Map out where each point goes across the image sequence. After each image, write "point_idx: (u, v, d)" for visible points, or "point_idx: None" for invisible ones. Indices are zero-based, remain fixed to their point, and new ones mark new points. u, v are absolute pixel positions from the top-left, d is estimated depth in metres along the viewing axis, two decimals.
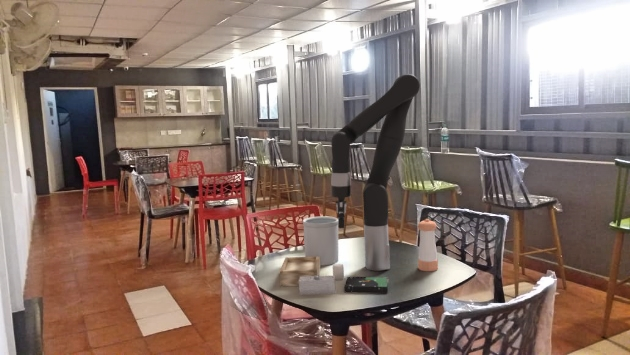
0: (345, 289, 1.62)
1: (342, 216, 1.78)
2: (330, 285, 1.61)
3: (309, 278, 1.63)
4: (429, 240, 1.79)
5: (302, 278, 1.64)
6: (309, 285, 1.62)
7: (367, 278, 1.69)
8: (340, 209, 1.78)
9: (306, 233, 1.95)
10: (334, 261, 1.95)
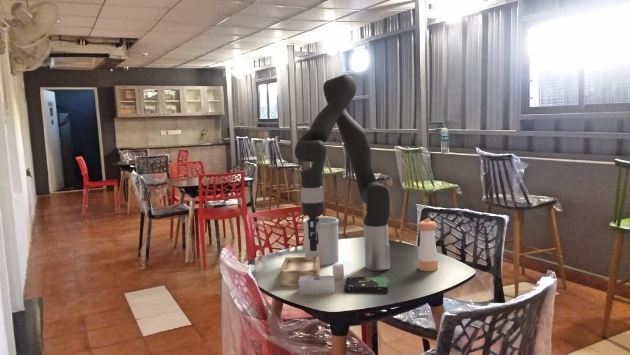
0: (345, 289, 1.62)
1: (313, 237, 1.55)
2: (330, 285, 1.61)
3: (309, 278, 1.63)
4: (429, 240, 1.79)
5: (302, 278, 1.64)
6: (309, 285, 1.62)
7: (367, 278, 1.69)
8: (311, 229, 1.55)
9: (306, 233, 1.95)
10: (334, 261, 1.95)
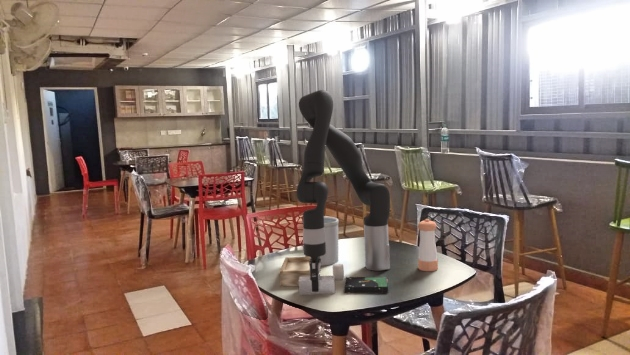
0: (345, 290, 1.62)
1: (315, 279, 1.56)
2: (330, 285, 1.61)
3: (309, 278, 1.63)
4: (429, 240, 1.79)
5: (302, 278, 1.64)
6: (309, 285, 1.62)
7: (366, 278, 1.69)
8: (313, 271, 1.56)
9: None
10: (334, 261, 1.95)
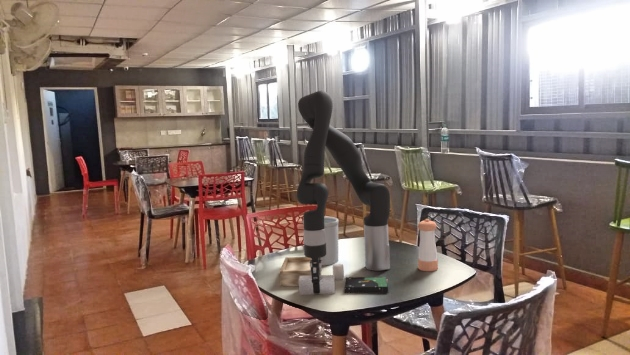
0: (345, 290, 1.61)
1: (317, 281, 1.58)
2: (330, 284, 1.61)
3: (309, 278, 1.63)
4: (429, 240, 1.79)
5: (302, 277, 1.64)
6: (309, 284, 1.62)
7: (366, 278, 1.69)
8: (314, 275, 1.57)
9: None
10: (334, 261, 1.95)
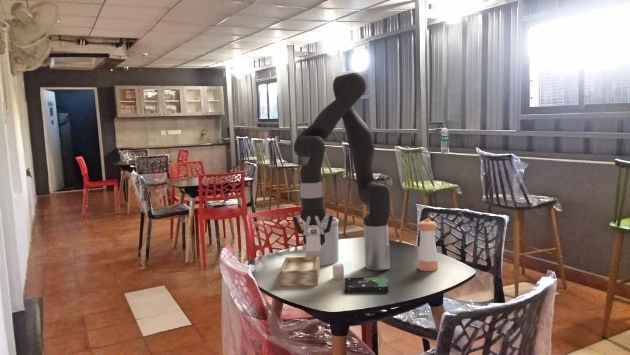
0: (346, 290, 1.61)
1: (298, 231, 1.63)
2: None
3: None
4: (429, 240, 1.79)
5: (315, 228, 1.68)
6: None
7: (365, 279, 1.69)
8: None
9: None
10: (334, 261, 1.95)
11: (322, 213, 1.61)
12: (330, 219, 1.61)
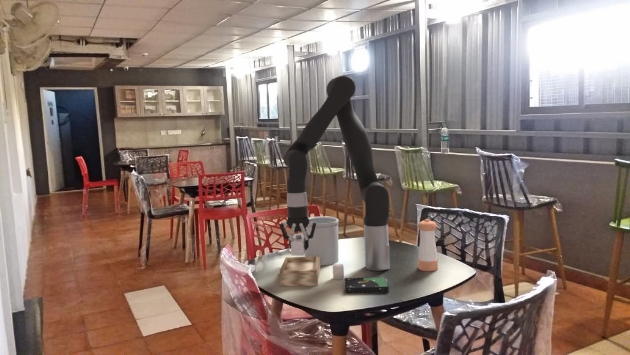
0: (346, 291, 1.61)
1: None
2: None
3: None
4: (429, 240, 1.79)
5: (300, 234, 1.83)
6: None
7: (365, 279, 1.68)
8: None
9: None
10: (334, 261, 1.95)
11: (306, 220, 1.76)
12: (313, 226, 1.76)
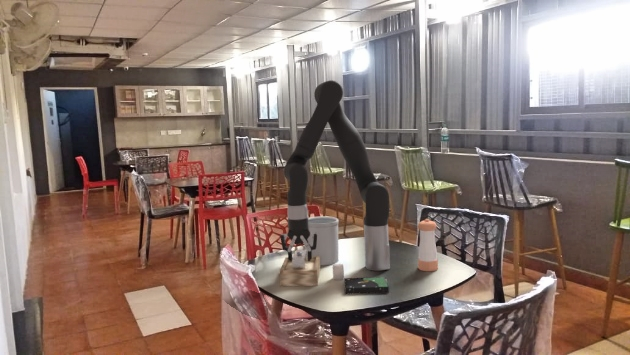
0: (346, 291, 1.60)
1: None
2: None
3: None
4: (429, 240, 1.79)
5: (301, 250, 1.83)
6: None
7: (365, 279, 1.68)
8: None
9: None
10: (334, 261, 1.95)
11: (307, 233, 1.76)
12: (315, 237, 1.76)
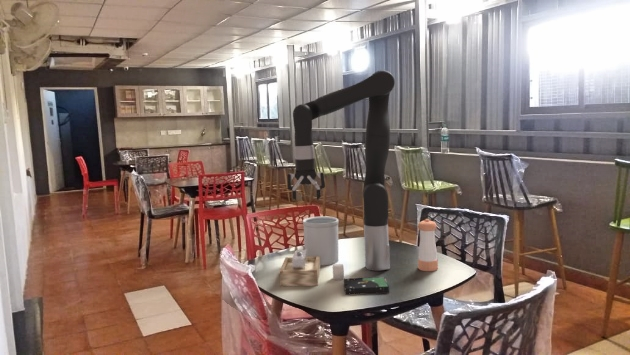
0: (346, 291, 1.60)
1: (287, 187, 1.83)
2: None
3: None
4: (429, 240, 1.79)
5: (301, 250, 1.83)
6: None
7: (364, 279, 1.68)
8: None
9: (306, 233, 1.95)
10: (334, 261, 1.95)
11: (313, 173, 1.82)
12: (322, 176, 1.81)
